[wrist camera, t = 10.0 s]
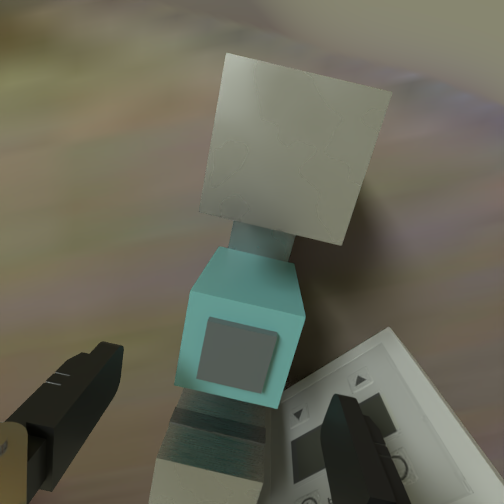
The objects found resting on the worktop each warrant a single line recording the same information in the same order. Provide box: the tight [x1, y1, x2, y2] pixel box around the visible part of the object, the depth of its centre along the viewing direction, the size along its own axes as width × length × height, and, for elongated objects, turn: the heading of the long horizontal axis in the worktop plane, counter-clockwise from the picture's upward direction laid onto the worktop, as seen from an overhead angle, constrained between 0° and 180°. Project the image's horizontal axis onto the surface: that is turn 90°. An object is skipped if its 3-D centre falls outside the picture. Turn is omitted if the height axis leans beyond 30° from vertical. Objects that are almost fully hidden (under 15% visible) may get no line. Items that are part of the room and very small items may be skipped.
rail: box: [149, 53, 392, 504], centre depth 17 cm, size 5×22×10 cm, turn 167°
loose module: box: [174, 246, 306, 409], centre depth 16 cm, size 5×5×7 cm
